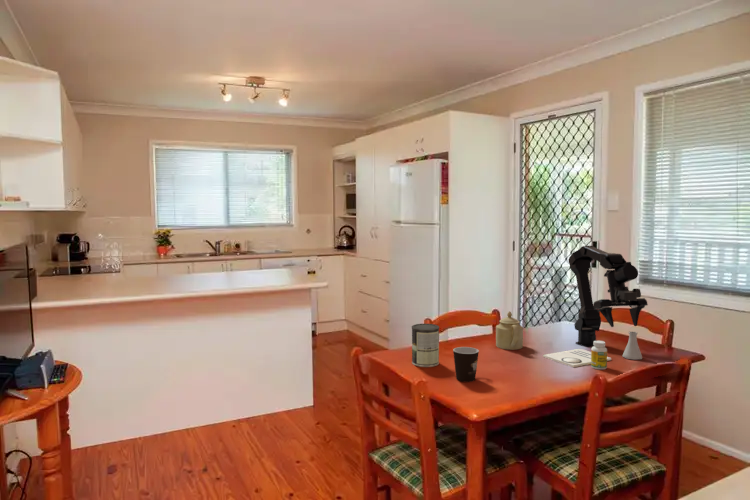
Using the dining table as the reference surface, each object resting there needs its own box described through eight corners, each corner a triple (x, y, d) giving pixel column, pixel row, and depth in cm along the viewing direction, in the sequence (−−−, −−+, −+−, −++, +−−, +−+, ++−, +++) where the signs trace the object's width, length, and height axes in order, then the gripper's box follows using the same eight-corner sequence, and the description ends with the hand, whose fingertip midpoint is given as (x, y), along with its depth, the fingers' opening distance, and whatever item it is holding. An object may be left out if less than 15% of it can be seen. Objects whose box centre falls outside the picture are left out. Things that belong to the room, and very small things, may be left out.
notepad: (543, 357, 204) (543, 354, 204) (579, 350, 213) (579, 348, 213) (573, 367, 191) (573, 364, 191) (611, 360, 200) (611, 357, 199)
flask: (645, 360, 198) (646, 334, 198) (624, 359, 200) (625, 334, 199) (639, 355, 205) (640, 330, 205) (619, 354, 207) (620, 329, 206)
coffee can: (406, 363, 197) (406, 326, 196) (423, 357, 204) (423, 322, 203) (427, 369, 190) (427, 331, 189) (444, 363, 197) (444, 326, 196)
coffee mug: (461, 384, 173) (462, 355, 172) (448, 376, 181) (448, 348, 180) (490, 379, 177) (491, 350, 177) (476, 372, 185) (476, 344, 185)
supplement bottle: (600, 365, 193) (601, 339, 193) (610, 369, 188) (610, 343, 187) (587, 366, 192) (588, 340, 191) (597, 370, 187) (597, 344, 186)
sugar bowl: (535, 350, 214) (535, 314, 213) (514, 353, 209) (515, 316, 208) (510, 341, 227) (510, 307, 226) (490, 345, 222) (490, 310, 221)
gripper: (605, 281, 191) (612, 324, 186) (652, 280, 193) (660, 322, 188) (589, 287, 201) (596, 328, 197) (634, 286, 203) (642, 326, 199)
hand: (624, 326), depth 195 cm, fingers open, 9 cm apart
